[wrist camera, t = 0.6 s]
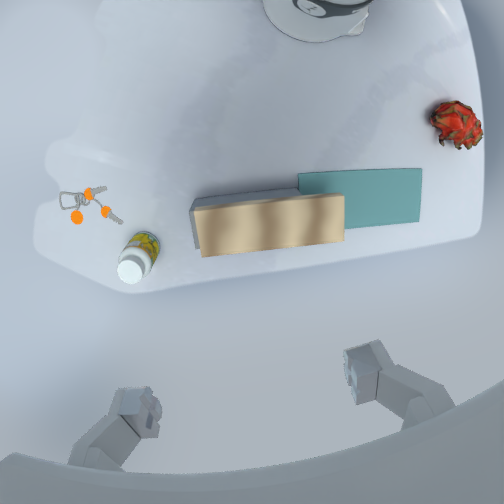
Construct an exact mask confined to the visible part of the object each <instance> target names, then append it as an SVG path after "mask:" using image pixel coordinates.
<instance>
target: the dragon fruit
mask: <svg viewBox="0 0 504 504" xmlns="http://www.w3.org/2000/svg"><path fill="white" fill-rule="evenodd" d="M440 105H441V106H439V107H438V108H437V109H436V110H434V112H433V113H432V114H433V115H432V116H431V117H430V121H431V124H432V127H433V126H435V127H436V128H440V129H441V130H442V133H441V134H440V135H439V136H438V137H439V143H440V144H441V145H442V146H444V142H443V141H444V140H454V145H455V148H457V149H458V150H460V149H462V147H460V146H461V145H462V144H464V146H465V147H466V148H467V150H469V149H470V148H471V147H472V145H473V146H476V145H477V143H479V141H480V140H481V139H482V137H481V136H482V135H483V131H482V129H481V122H480V120H478V119H477V118H476V116H475V113H473V111H472V108H471V107H470V106H466V105H464V104H463V103H461V102H459V101H457V100H456V101H451V102H446V103H441V104H440ZM434 116H435V117H434Z"/></svg>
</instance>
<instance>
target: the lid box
mask: <svg viewBox="0 0 504 504" xmlns="http://www.w3.org/2000/svg"><path fill="white" fill-rule="evenodd" d="M291 196H302V194H301V193H300V192H299V191H298V190H297V188H286V189H276V190H266V191H256V192H247V193H238V194H230V195H221V196H214V197H206V198H198V199H195V200H194V202H193V204H192V207H191V209H190V211H189V215H190V221H191V226H192V232H193V237H194V243H195V248H196V249H200V245H199V239H198V234H197V228H196V222H195V216H194V210H195V207H202V206H210V205H218V204H226V203H234V202H243V201H252V200H261V199H271V198H281V197H291Z"/></svg>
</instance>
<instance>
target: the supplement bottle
mask: <svg viewBox="0 0 504 504" xmlns="http://www.w3.org/2000/svg"><path fill="white" fill-rule="evenodd" d="M159 251H160V245H159V242H158V240H157V239H156V238H155V237H154V236H153V235H152V234H150V233H147V232H140V233H137V234H136V235H134V236H133V238H132V239H131V240H130V241H129V243H128V244H127V246H126V247H125V248H124V250H123V251H122V252H121V254H120V256H119V265H118V267H117V273H118V275H119V277H120V279H121V280H122V281H124V282H125V283H128V284H136V283H138V282H139V281H140V280H141V279H142V278H144V277H146V276H147V275H148V274H149V272H150V271H151V268H152V266H153V264H154V262H155V260H156V258H157V256H158V254H159Z"/></svg>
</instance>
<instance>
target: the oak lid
mask: <svg viewBox="0 0 504 504" xmlns="http://www.w3.org/2000/svg"><path fill="white" fill-rule="evenodd" d="M194 216H195V222H196V228H197V234H198V239H199V245H200V250H201V256H202V257H210V256H219V255H228V254H236V253H245V252H254V251H263V250H272V249H280V248H289V247H298V246H307V245H316V244H324V243H333V242H342V241H344V195H342V194H341V193H340V192H339V193H326V194H314V195H302V196H291V197H281V198H271V199H261V200H252V201H243V202H234V203H226V204H218V205H210V206H202V207H195V210H194Z"/></svg>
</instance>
